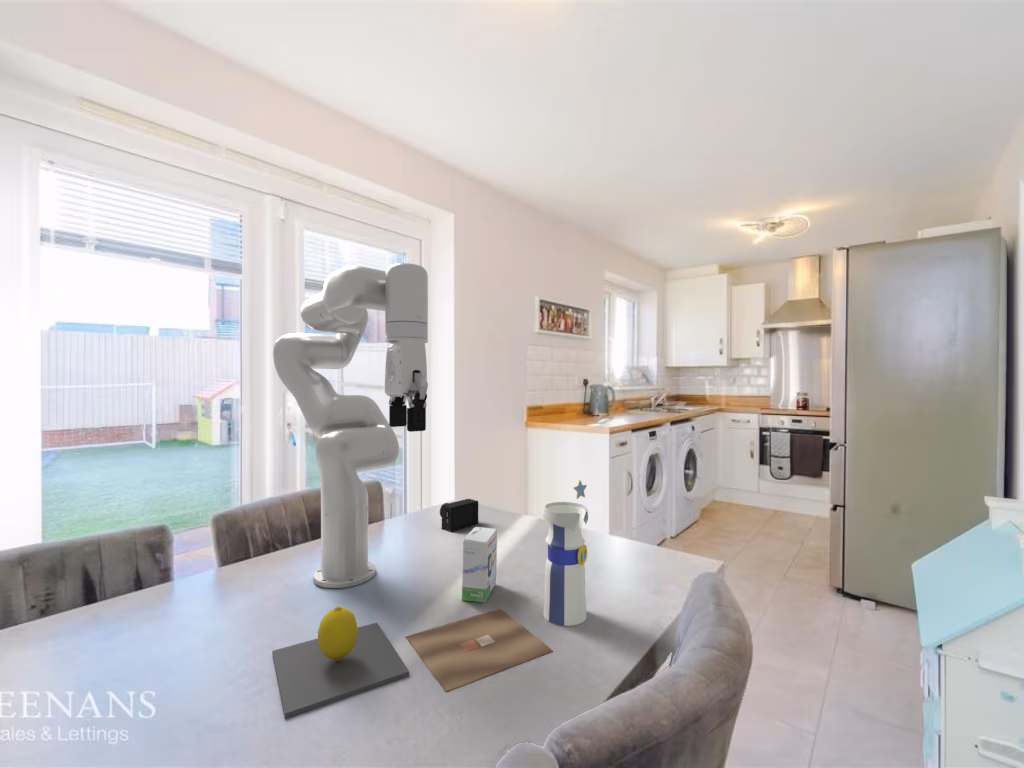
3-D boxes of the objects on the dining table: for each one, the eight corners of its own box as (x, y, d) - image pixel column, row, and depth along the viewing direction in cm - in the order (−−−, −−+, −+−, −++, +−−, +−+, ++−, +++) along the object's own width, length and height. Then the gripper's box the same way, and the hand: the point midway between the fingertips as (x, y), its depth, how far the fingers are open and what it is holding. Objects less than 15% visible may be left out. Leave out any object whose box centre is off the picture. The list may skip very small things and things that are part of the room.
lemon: (309, 666, 68) (308, 611, 68) (338, 646, 73) (337, 595, 73) (338, 676, 66) (337, 619, 65) (365, 654, 71) (365, 602, 70)
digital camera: (466, 520, 141) (466, 497, 141) (478, 524, 138) (478, 500, 138) (438, 528, 134) (438, 503, 134) (450, 532, 130) (450, 507, 130)
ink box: (473, 582, 98) (473, 525, 98) (497, 584, 97) (497, 527, 97) (460, 601, 89) (460, 539, 89) (487, 603, 88) (487, 541, 88)
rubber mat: (272, 654, 72) (272, 650, 72) (376, 625, 80) (376, 622, 80) (284, 718, 58) (284, 713, 58) (409, 675, 67) (409, 671, 67)
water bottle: (596, 610, 86) (596, 473, 86) (578, 631, 78) (578, 482, 78) (555, 599, 90) (555, 469, 90) (534, 618, 83) (534, 477, 82)
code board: (405, 637, 77) (405, 636, 77) (500, 609, 86) (500, 608, 86) (445, 692, 63) (445, 690, 63) (552, 651, 73) (552, 650, 73)
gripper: (372, 337, 90) (372, 425, 90) (402, 328, 75) (402, 434, 76) (410, 338, 94) (410, 424, 94) (445, 331, 79) (445, 431, 80)
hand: (406, 428), depth 85 cm, fingers open, 9 cm apart
